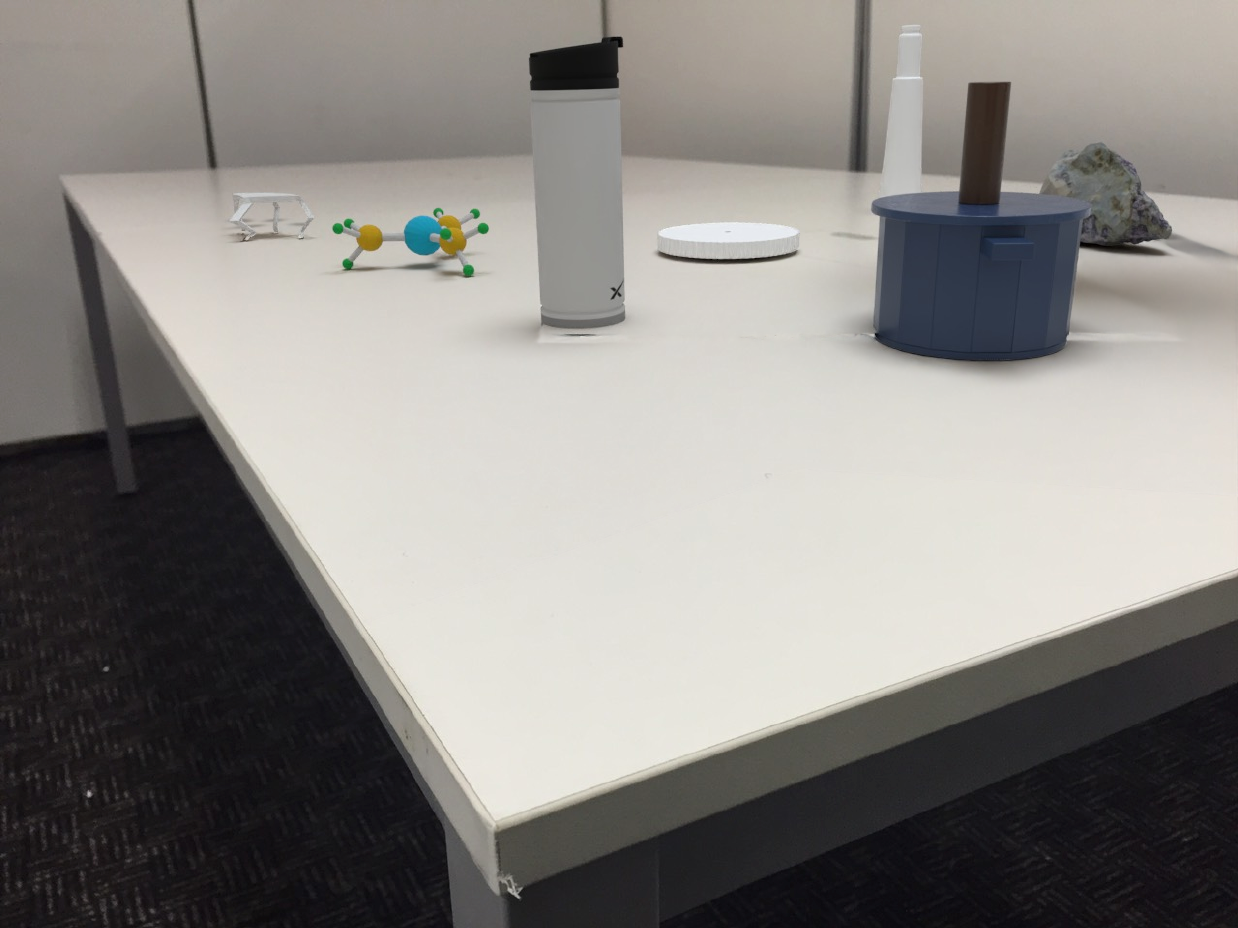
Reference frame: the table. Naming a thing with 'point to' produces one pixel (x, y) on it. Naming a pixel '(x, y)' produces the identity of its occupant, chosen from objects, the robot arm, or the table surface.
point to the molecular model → (417, 236)
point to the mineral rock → (1107, 196)
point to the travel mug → (578, 184)
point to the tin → (975, 288)
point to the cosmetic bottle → (905, 120)
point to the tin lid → (983, 178)
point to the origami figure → (252, 198)
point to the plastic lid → (728, 240)
